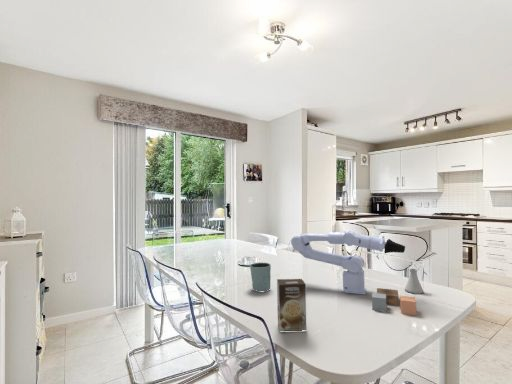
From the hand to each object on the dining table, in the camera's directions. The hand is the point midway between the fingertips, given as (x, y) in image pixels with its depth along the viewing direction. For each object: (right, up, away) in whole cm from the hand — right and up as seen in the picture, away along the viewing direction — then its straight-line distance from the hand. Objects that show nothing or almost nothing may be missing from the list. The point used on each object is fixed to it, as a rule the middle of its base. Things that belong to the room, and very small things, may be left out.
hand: (404, 249), depth 120 cm
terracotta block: (-6, -21, -14) cm, 26 cm away
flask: (+8, -21, +7) cm, 24 cm away
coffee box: (-51, -22, -24) cm, 61 cm away
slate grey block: (-15, -21, -9) cm, 28 cm away
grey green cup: (-61, -23, +17) cm, 67 cm away
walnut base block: (-8, -21, -2) cm, 23 cm away
